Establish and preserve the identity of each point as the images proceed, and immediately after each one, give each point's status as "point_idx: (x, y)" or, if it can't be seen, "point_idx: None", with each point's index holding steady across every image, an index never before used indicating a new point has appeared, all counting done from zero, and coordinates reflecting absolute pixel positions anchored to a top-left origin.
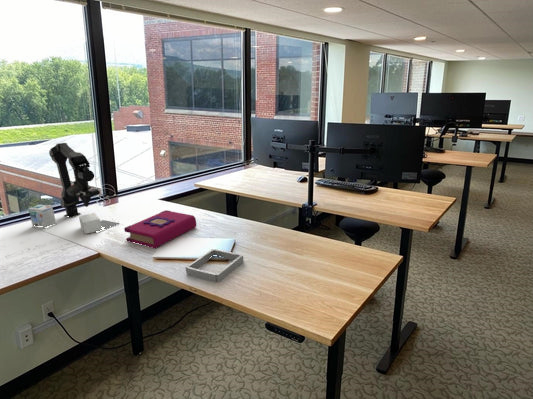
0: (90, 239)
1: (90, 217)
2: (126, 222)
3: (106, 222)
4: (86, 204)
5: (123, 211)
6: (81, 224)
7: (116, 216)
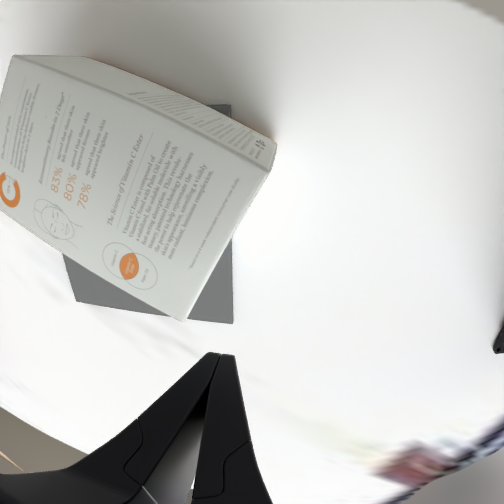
0: (12, 45)
1: (65, 190)
2: (68, 321)
3: None
4: (183, 383)
5: None
6: (167, 97)
7: None
